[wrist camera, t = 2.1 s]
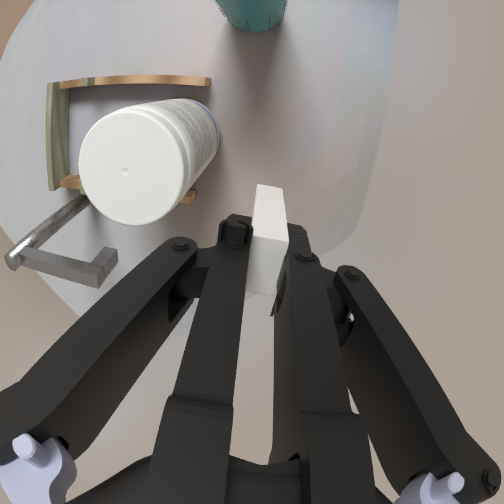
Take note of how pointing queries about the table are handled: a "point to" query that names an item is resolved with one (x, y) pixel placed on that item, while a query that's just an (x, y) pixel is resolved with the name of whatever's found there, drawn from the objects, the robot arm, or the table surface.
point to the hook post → (56, 264)
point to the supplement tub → (146, 158)
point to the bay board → (60, 116)
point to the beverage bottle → (253, 13)
